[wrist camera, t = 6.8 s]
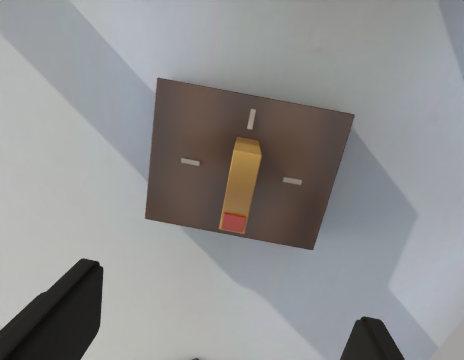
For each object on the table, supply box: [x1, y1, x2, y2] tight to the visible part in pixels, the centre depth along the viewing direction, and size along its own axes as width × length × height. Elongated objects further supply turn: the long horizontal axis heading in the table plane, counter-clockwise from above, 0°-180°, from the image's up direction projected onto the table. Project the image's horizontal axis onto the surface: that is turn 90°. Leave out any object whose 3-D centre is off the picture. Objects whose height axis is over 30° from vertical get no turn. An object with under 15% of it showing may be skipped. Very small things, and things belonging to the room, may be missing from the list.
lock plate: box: [145, 78, 355, 250], centre depth 22 cm, size 14×11×3 cm
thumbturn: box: [219, 137, 262, 234], centre depth 18 cm, size 5×2×5 cm, turn 170°
